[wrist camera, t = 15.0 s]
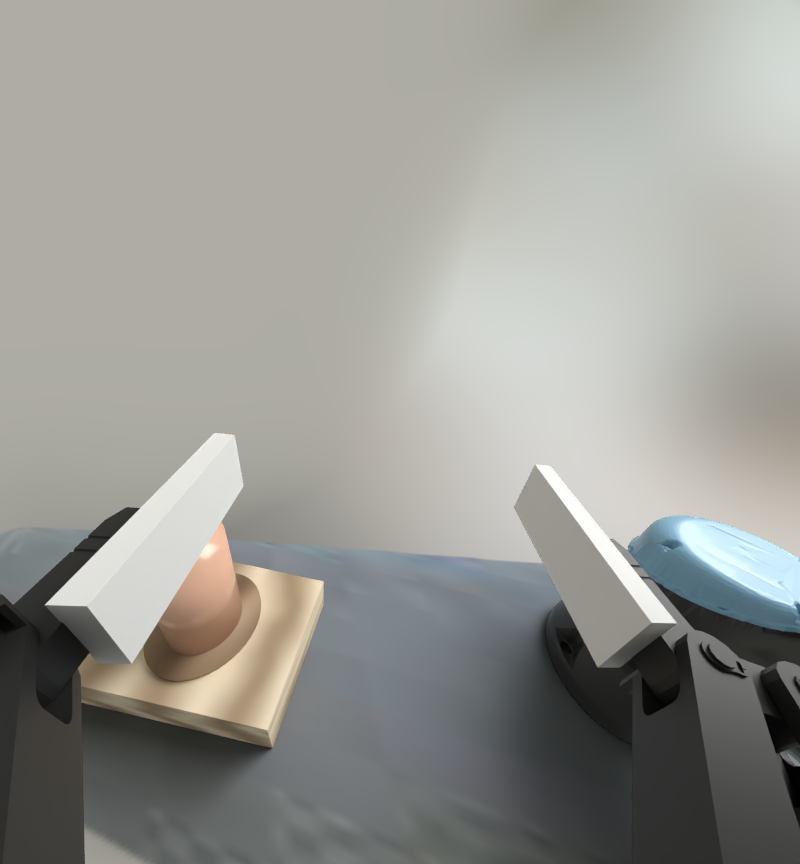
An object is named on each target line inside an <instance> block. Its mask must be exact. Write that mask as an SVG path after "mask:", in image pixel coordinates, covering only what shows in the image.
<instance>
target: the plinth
mask: <svg viewBox="0 0 800 864" xmlns="http://www.w3.org/2000/svg"><path fill="white" fill-rule="evenodd" d="M232 563H233V567H234V571H235V576H236V580H237V584H238V589H239V593H240V597H241V601H242V614H241V618H240V620H239V623H238V624H237V626H236V628H235V629H234V631H233V632H232V633H231V634H230V636H229V637H228V638H227V639H226V640H225V641H223V642H222V643H221V644H220V645H218V646H217V647H215V648H214V649H212V650H210V651H208V652H206V653H203V654H200V655H195V656H184V655H180V654H177V653H176V652H174V651H173V650H172V649H171V647H170V646H169V644H168V642H167V640H166V638H165V637H164V635H163V633H162V631H161V629H160V627H159V626H158V624H157V625H156V626H155V628H154V629H153V631H152V633H151V634H150V636H149V637H148V639H147V641H146V642H145V644H144V645H143V647H142V649H141V650H140V652H139V653H138V655H137V657H136V658H135V660H134V661H133V663H132V664H98V662H97V661H96V660H95V659H94V658H93V657H92V656H91V655H90V654H88V655H87V657H86V658H85V659H84V661H83V662H82V663H81V665H80V666H79V667H78V670H79V672H80V675H81V703H85V704H89V705H93V706H97V707H102V708H106V709H110V710H114V711H118V712H123V713H127V714H131V715H135V716H139V717H143V718H148V719H152V720H156V721H160V722H164V723H169V724H173V725H177V726H181V727H185V728H189V729H194V730H198V731H202V732H206V733H210V734H215V735H219V736H223V737H227V738H231V739H235V740H240V741H244V742H248V743H252V744H256V745H261V746H265V747H269V748H273V746H274V743H275V740H276V737H277V735H278V732H279V729H280V726H281V723H282V720H283V718H284V715H285V712H286V709H287V706H288V703H289V701H290V698H291V695H292V692H293V689H294V686H295V684H296V681H297V678H298V675H299V672H300V669H301V667H302V664H303V661H304V658H305V655H306V652H307V650H308V647H309V644H310V641H311V638H312V635H313V633H314V630H315V627H316V624H317V621H318V618H319V616H320V613H321V610H322V607H323V586H324V582H323V581H318V580H314V579H309V578H305V577H300V576H295V575H291V574H286V573H282V572H277V571H272V570H268V569H263V568H259V567H254V566H249V565H245V564H240V563H236V562H232Z"/></svg>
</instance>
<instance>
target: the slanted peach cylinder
mask: <svg viewBox="0 0 800 864" xmlns="http://www.w3.org/2000/svg"><path fill="white" fill-rule="evenodd" d="M241 614H242V601H241V597H240V593H239V589H238V584H237V580H236V576H235V571H234V567H233V563H232V559H231V554H230V550H229V546H228V542H227V537H226V533H225V529H224V526H223V524H222V522H221V523H220V524H219V526H218V527H217V529H216V531H215V532H214V534H213V535H212V537H211V539H210V540H209V542H208V543H207V545H206V547H205V548H204V550H203V551H202V553H201V555H200V556H199V558H198V559H197V561H196V563H195V564H194V566H193V567H192V569H191V570H190V572H189V574H188V575H187V577H186V578H185V580H184V582H183V583H182V585H181V586H180V588H179V590H178V591H177V593H176V594H175V596H174V598H173V599H172V601H171V602H170V604H169V606H168V607H167V609H166V610H165V612H164V614H163V615H162V617H161V618H160V620H159V621H158V623H157V624H158V626H159V627H160V629H161V631H162V633H163V635H164V637H165V638H166V640H167V642H168V644H169V646H170V647H171V649H172V650H173V651H174V652H176V653H177V654H180V655H184V656H195V655H200V654H203V653H206V652H208V651H210V650H212V649H214V648H215V647H217V646H218V645H220V644H221V643H222V642H223V641H225V640H226V639H227V638H228V637H229V636H230V634H231V633H232V632H233V631H234V629H235V628H236V626H237V624H238V623H239V620H240V618H241Z"/></svg>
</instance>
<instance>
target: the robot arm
mask: <svg viewBox="0 0 800 864" xmlns="http://www.w3.org/2000/svg"><path fill="white" fill-rule="evenodd" d="M242 488H243V480H242V475H241V469H240V463H239V458H238V452H237V446H236V441H235V436H234V435H228V434H218V433H214V434H213V435H212V436H211V437H210V438H209V439H208V440H207V441H206V442H205V443H204V444H203V445H202V446H201V447H200V448H199V449H198V450H197V451H196V453H194V454H193V455H192V457H191V458H189V460H187V461H186V462H185V463H184V465H183V466H182V467H181V468H180V469H179V470H178V471H177V472H176V473H175V474H174V475H173V476H172V477H171V478H170V479H169V480H168V481H167V482H166V483H165V484H164V485H163V486H162V487H161V488H160V489H159V490H158V491H157V492H156V493H155V494H154V495H153V496H152V497H151V498H150V499H149V500H148V501H147V502H146V503H145V504H144V505H143V506H142V507H141V508H129V507H127V508H125V509H123V510H121V511H120V512H118V513H116V514H115V515H113V516H111V517H110V518H108V519H106V520H105V521H104V522H103V523H101V524H100V525H99V526H98V527H97V528H96V529H95V530H94V531H93V532H92V533H91V534H90V535H89V537H88V538H87V539H84V540H83V541H82V542H81V543H80V544H79V545H78V546H77V547H76V548H74V551H73V552H70V553H69V554H68V555H67V556H66V557H65V558H64V559H63V560H62V561H60V562H59V563H58V564H57V565H56V566H55V567H54V568H53V569H52V570H51V571H50V572H49V573H48V574H46V575H45V576H44V577H43V578H42V579H41V580H40V581H39V582H38V583H37V584H36V585H35V586H34V587H32V588H31V589H30V590H29V591H28V592H27V593H26V594H25V595H24V596H23V597H22V598H21V599H19V600H18V601H17V602H16V603H15V604H14V605H12V604H11V603H10V602H9V601H8V600H7V599H6V598H5V597H4V596H3V595H1V594H0V864H85V857H84V856H85V854H84V806H83V758H82V709H81V675H80V672H79V670H78V667H79V666H80V665H81V663H82V662H83V661H84V659H85V658H86V657H87V655H88V654H90V655H91V656H92V657H93V658H94V659H95V660H96V661H97V662H98V664H132V663H133V661H134V660H135V658H136V657H137V655H138V653H139V652H140V650H141V649H142V647H143V645H144V644H145V642H146V641H147V639H148V637H149V636H150V634H151V633H152V631H153V629H154V628H155V626H156V625H157V623H158V621H159V620H160V618H161V617H162V615H163V614H164V612H165V610H166V609H167V607H168V606H169V604H170V602H171V601H172V599H173V598H174V596H175V594H176V593H177V591H178V590H179V588H180V586H181V585H182V583H183V582H184V580H185V578H186V577H187V575H188V574H189V572H190V570H191V569H192V567H193V566H194V564H195V563H196V561H197V559H198V558H199V556H200V555H201V553H202V551H203V550H204V548H205V547H206V545H207V543H208V542H209V540H210V539H211V537H212V535H213V534H214V532H215V531H216V529H217V527H218V526H219V524H220V523H221V521H222V519H223V518H224V516H225V515H226V513H227V511H228V510H229V508H230V507H231V505H232V503H233V502H234V500H235V499H236V497H237V496H238V494H239V492H240V491H241V489H242ZM514 508H515V510H516V512H517V514H518V516H519V518H520V520H521V522H522V523H523V525H524V528H525V529H526V531H527V533H528V535H529V537H530V539H531V541H532V543H533V545H534V547H535V549H536V550H537V552H538V554H539V556H540V558H541V560H542V562H543V564H544V566H545V568H546V570H547V571H548V573H549V575H550V577H551V579H552V581H553V583H554V585H555V587H556V589H557V591H558V593H559V594H560V596H561V598H562V600H561V601H560V602H559V603H558V604H557V605H556V606H555V607H554V609H553V610H552V611H551V612H550V614H549V616H548V618H547V622H546V629H545V634H546V642H547V647H548V651H549V654H550V657H551V660H552V662H553V664H554V667H555V669H556V671H557V673H558V675H559V676H560V678H561V680H562V682H563V683H564V685H565V686H566V688H567V689H568V691H569V692H570V693H571V695H572V696H573V697H574V699H575V700H576V701H577V702H578V704H579V705H580V706H581V707H582V708H583V709H584V710H585V711H586V712H587V713H588V714H589V715H590V716H591V717H592V718H593V719H594V720H595V721H596V722H597V723H598V724H600V725H601V726H602V727H603V728H605V729H606V730H607V731H609V732H610V733H611V734H613V735H615V736H616V737H618V738H620V739H621V740H623V741H625V742H627V743H630V744H632V864H800V766H795V765H794V764H793V762H792V761H791V759H790V758H789V756H788V755H787V753H786V751H787V752H788V753H789V754H790V755H791V756H792V757H794V758H795V759H796V760H797V761H798V762H799V763H800V559H799V558H797V557H796V556H794V555H792V554H790V553H789V552H787V551H785V550H783V549H781V548H779V547H778V546H776V545H774V544H772V543H770V542H768V541H766V540H764V539H761V538H759V537H757V536H755V535H752V534H750V533H747V532H745V531H743V530H740V529H737V528H735V527H732V526H729V525H726V524H723V523H720V522H716V521H712V520H708V519H704V518H695V517H690V516H669V517H665V518H662V519H659V520H657V521H655V522H654V523H653V524H651V525H650V526H649V527H648V528H647V529H646V530H645V531H644V532H643V533H642V534H641V535H640V536H637V537H635V538H634V539H633V540H632V541H631V542H630V544H629V545H628V550H626V549H625V548H624V547H622V546H621V545H620V544H619V543H617V542H616V541H615V540H614V539H609V538H608V537H607V536H606V534H605V533H604V532H603V531H602V529H601V528H600V527H599V526H598V524H597V523H596V522H595V521H594V520H593V518H592V517H591V516H590V514H589V513H588V512H587V511H586V510H585V508H584V507H583V506H582V505H581V503H580V502H579V501H578V500H577V499H576V497H575V496H574V495H573V493H572V492H571V491H570V490H569V488H568V487H567V486H566V485H565V483H564V482H563V481H562V480H561V479H560V477H559V476H558V475H557V474H556V472H555V471H554V470H553V469H552V468H551V466H544V465H535V466H534V468H533V470H532V472H531V474H530V476H529V478H528V480H527V482H526V484H525V486H524V488H523V490H522V492H521V494H520V496H519V498H518V500H517V502H516V504H515V506H514Z"/></svg>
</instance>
